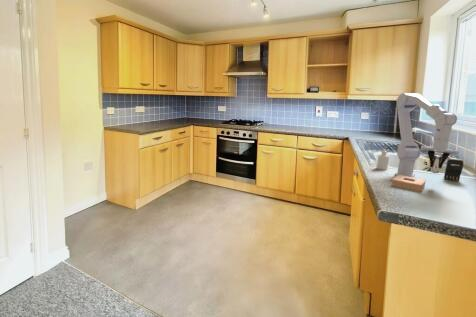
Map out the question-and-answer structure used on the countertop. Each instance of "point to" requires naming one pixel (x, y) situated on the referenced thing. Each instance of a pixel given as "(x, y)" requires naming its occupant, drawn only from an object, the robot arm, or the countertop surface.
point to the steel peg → (436, 164)
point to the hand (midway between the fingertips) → (435, 167)
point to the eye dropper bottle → (382, 161)
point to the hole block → (408, 182)
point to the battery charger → (453, 169)
